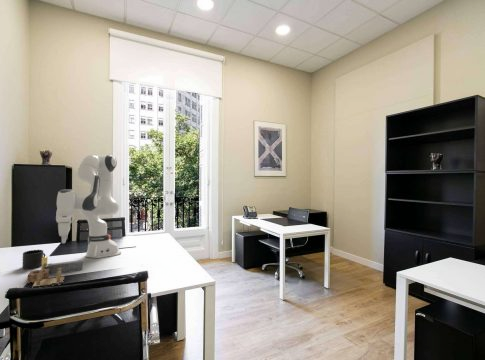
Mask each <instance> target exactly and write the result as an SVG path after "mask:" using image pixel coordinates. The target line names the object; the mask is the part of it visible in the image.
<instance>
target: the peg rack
mask: <svg viewBox="0 0 485 360" xmlns="http://www.w3.org/2000/svg"><path fill="white" fill-rule="evenodd" d="M39 270H40V271H39V274H37V280H36V281H35V282H33V284H32V287H33V286H40V285H50V284H52V283H59V282H63V283H64V281H65V276H62V273H61V268H58V272H57V273H56V277H51V278H50V277H48V279H42V270H41V269H39ZM63 280H64V281H63Z"/></svg>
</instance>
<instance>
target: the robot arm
mask: <svg viewBox="0 0 485 360" xmlns="http://www.w3.org/2000/svg"><path fill="white" fill-rule="evenodd" d="M117 163H118V161H117V158H116V157H115V156H114V155H110V154H107V155H105V154H104V155H103V154H101V155H95V154H94V155H93V154H88V155H86V156H85V157H84V158H83V160H82V161H81V162H80V165H79V166H78V168H77V172H76V173H77V176H78V178H79V179H80V180H81V181H83V182H85V183H88V184H90V187H89V188H90V189H89V193H87V194H77V193H75V190H74V189H70V188H68V189H67V188H66V189H59V191H58V192H57V196H56V208H57V209H56V214H55V215H56V216H55V221H56V223H57V229H58V230H57V231H58V235H59V237H61V243H62V244H65V243H66V241H67V240H68V235H69V233H70V230H71V224H72V223H73V221H75V220H76V219H75V217H76V214H75V213H76V211H78V212H79V214H80V215H82V216H83V217H84V218H85V220H86V221H87V223H88V236H87V244H88V245H87V251H86V254H85V257H87V258H93V259H102V258H107V257H113V256H119V255H121V254H122V249H120V248H119V246H118V244H117V242H115V241H114V240H112V239H111V238H112V236H111V234H108V223H107V222H106V220H103V219H101V218H100V216H113V215H116V214H117V213H118V212H119V210H120V209H119V208H120V205H119V203H118V202H117V201H116V200H115V199H114V198H113V196H112V185H113V178H114V177H113V171H114V170H115V168H116V167H117ZM99 197H100V199H99Z"/></svg>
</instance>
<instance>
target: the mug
mask: <svg viewBox="0 0 485 360" xmlns="http://www.w3.org/2000/svg"><path fill="white" fill-rule="evenodd" d="M42 257H46V254H45V253H44V250H43V249H32V250H27V251H24V252H23V253H22V269H23V270H34V269H35V270H36V269H38V268H40V267H41V265H42Z"/></svg>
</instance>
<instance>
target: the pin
mask: <svg viewBox="0 0 485 360" xmlns="http://www.w3.org/2000/svg"><path fill="white" fill-rule="evenodd" d="M45 264H48V256H46V255H45V257H44V256H43V257H42V265H41V269H40V270H42V269H44V266H45Z"/></svg>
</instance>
